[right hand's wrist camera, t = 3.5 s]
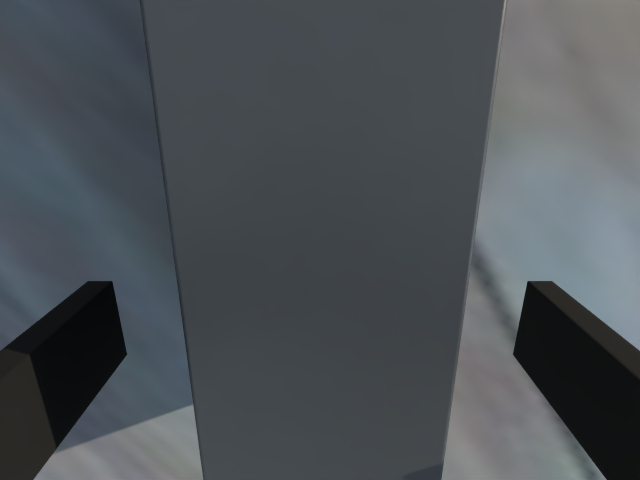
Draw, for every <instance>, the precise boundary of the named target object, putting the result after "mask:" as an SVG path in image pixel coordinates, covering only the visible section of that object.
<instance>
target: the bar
mask: <svg viewBox="0 0 640 480" xmlns="http://www.w3.org/2000/svg"><path fill="white" fill-rule="evenodd" d="M140 5H141V13H142V20H143V28H144V35H145V43H146V50H147V58H148V65H149V73H150V80H151V88H152V96H153V103H154V111H155V118H156V126H157V133H158V141H159V148H160V156H161V163H162V171H163V178H164V186H165V193H166V201H167V209H168V216H169V224H170V231H171V239H172V246H173V254H174V261H175V269H176V276H177V284H178V291H179V299H180V306H181V314H182V322H183V329H184V337H185V344H186V352H187V359H188V367H189V374H190V382H191V389H192V397H193V404H194V412H195V420H196V427H197V435H198V442H199V450H200V457H201V465H202V472H203V480H441V478H442V471H443V463H444V456H445V449H446V442H447V434H448V427H449V420H450V413H451V405H452V398H453V391H454V384H455V376H456V369H457V362H458V355H459V347H460V340H461V333H462V326H463V319H464V311H465V304H466V297H467V290H468V282H469V275H470V268H471V261H472V253H473V246H474V239H475V232H476V224H477V217H478V210H479V203H480V195H481V188H482V181H483V174H484V166H485V159H486V152H487V145H488V137H489V130H490V123H491V116H492V108H493V101H494V94H495V87H496V80H497V72H498V65H499V58H500V51H501V43H502V36H503V29H504V22H505V14H506V7H507V0H140Z"/></svg>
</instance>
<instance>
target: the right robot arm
mask: <svg viewBox="0 0 640 480" xmlns="http://www.w3.org/2000/svg"><path fill="white" fill-rule="evenodd" d="M126 355H127V352H126V347H125V342H124V337H123V332H122V327H121V322H120V317H119V312H118V307H117V302H116V297H115V292H114V287H113V282H112V281H88V282H86V283H85V284H84V285H83V286H81V287H80V288H79V289H78V290H76V291H75V292H74V293H73V294H71V295H70V296H69V297H68V298H66V299H65V300H64V301H63V302H61V303H60V304H59V305H58V306H56V307H55V308H54V309H53V310H51V311H50V312H49V313H47V314H46V315H45V316H44V317H42V318H41V319H40V320H39V321H37V322H36V323H35V324H34V325H32V326H31V327H30V328H29V329H27V330H26V331H25V332H24V333H22V334H21V335H20V336H19V337H17V338H16V339H15V340H14V341H12V342H11V343H10V344H8V345H7V346H6V347H5V348H3V349H2V350H1V351H0V480H33V479H34V478H35V477H36V475H37V474H38V473H39V471H40V470H41V469H42V467H43V466H44V465H45V463H46V462H47V461H48V459H49V458H50V457H51V455H52V454H53V453H54V451H55V450H56V449H57V447H58V446H59V445H60V443H61V442H62V441H63V439H64V438H65V437H66V435H67V434H68V433H69V431H70V430H71V429H72V427H73V426H74V425H75V423H76V422H77V421H78V419H79V418H80V417H81V415H82V414H83V413H84V411H85V410H86V409H87V407H88V406H89V405H90V403H91V402H92V401H93V399H94V398H95V397H96V395H97V394H98V393H99V391H100V390H101V389H102V387H103V386H104V385H105V383H106V382H107V381H108V379H109V378H110V377H111V375H112V374H113V373H114V371H115V370H116V369H117V367H118V366H119V364H120V363H121V362H122V360H123V359H124V358H125V356H126ZM513 355H514V356H515V358H516V359H517V360H518V362H519V363H520V365H521V366H522V367H523V369H524V370H525V371H526V373H527V374H528V375H529V377H530V378H531V379H532V381H533V382H534V383H535V385H536V386H537V387H538V389H539V390H540V391H541V393H542V394H543V395H544V397H545V398H546V399H547V401H548V402H549V403H550V405H551V406H552V407H553V409H554V410H555V411H556V413H557V414H558V415H559V417H560V418H561V419H562V421H563V422H564V423H565V425H566V426H567V427H568V429H569V430H570V431H571V433H572V434H573V435H574V437H575V438H576V439H577V441H578V442H579V443H580V445H581V446H582V447H583V449H584V450H585V451H586V453H587V454H588V455H589V457H590V458H591V459H592V461H593V462H594V463H595V465H596V466H597V467H598V469H599V470H600V471H601V473H602V474H603V475H604V477H605V478H606V479H607V480H640V351H639V350H638V349H637V348H635V347H634V346H633V345H632V344H630V343H629V342H628V341H626V340H625V339H624V338H623V337H621V336H620V335H619V334H618V333H616V332H615V331H614V330H613V329H611V328H610V327H609V326H608V325H606V324H605V323H604V322H603V321H601V320H600V319H599V318H598V317H596V316H595V315H594V314H593V313H591V312H590V311H589V310H587V309H586V308H585V307H584V306H582V305H581V304H580V303H579V302H577V301H576V300H575V299H574V298H572V297H571V296H570V295H569V294H567V293H566V292H565V291H564V290H562V289H561V288H560V287H559V286H557V285H556V284H555V283H554V282H552V281H528V282H527V287H526V292H525V297H524V302H523V307H522V312H521V317H520V322H519V327H518V332H517V337H516V342H515V347H514V352H513Z"/></svg>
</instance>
